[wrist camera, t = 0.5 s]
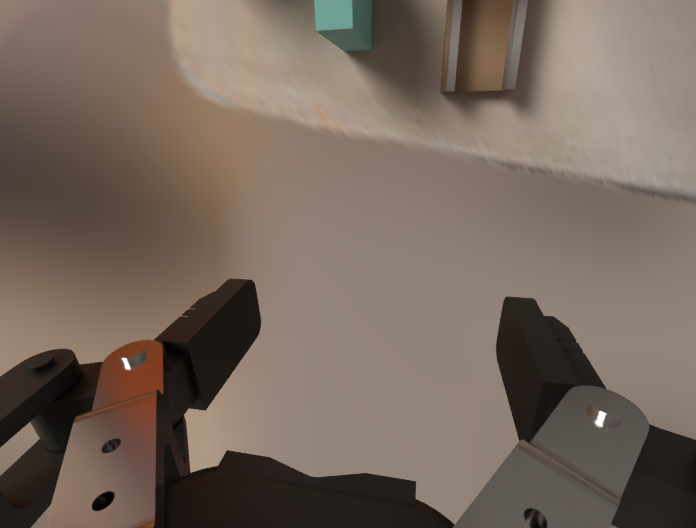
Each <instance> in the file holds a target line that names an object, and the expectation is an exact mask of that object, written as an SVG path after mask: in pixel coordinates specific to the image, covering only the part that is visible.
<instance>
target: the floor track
mask: <svg viewBox="0 0 696 528" xmlns="http://www.w3.org/2000/svg"><path fill="white" fill-rule="evenodd" d="M527 5H528V0H448V3H447V16H446V30H445V43H444V57H443V70H442V84H441V93H457V92H489V91H512V90H513V89H515V86H516V79H517V73H518V66H519V59H520V52H521V46H522V39H523V32H524V25H525V19H526V12H527Z"/></svg>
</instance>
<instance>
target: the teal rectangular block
mask: <svg viewBox="0 0 696 528" xmlns="http://www.w3.org/2000/svg"><path fill="white" fill-rule="evenodd" d="M314 4H315V24H316V31H317V32H318V33H320V34H321V35H322V36H324V37H325V38H327V39H328V40H329V41H331V42H332V43H333V44H335V45H336V46H338V47H339V48H340V49H342V50H343V51H362V50H372V0H314Z"/></svg>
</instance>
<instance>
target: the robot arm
mask: <svg viewBox="0 0 696 528" xmlns="http://www.w3.org/2000/svg"><path fill="white" fill-rule="evenodd" d="M260 327H261V317H260V311H259V305H258V299H257V293H256V287H255V284H254V282H253V281H252V280H245V279H228V280H227V281H226V282H225V283H224V284H223V285H222V286H221V287H219V288H218V289H217V290H216V291H215V292H212V293H210V294H208V295H206V296H205V297H203V298H201V299H199V300H198V301H197V302H196V303H195V304H194V305H192V306H191V307H190V310H189V309H188V310H187V311H186V312H185V313H183V314H182V317H179V318H178V319H177V320H176V321H175V322H173V323H172V324H171V325H170V326H169V327H168V328H167V329H165V330H164V331H163V332H162V333H161V334H160V335H159V336H158V337H156V338H155V339H154V340H141V341H135V342H132V343H129V344H126V345H124V346H122V347H120V348H118V349H116V350H115V351H113V352H112V353H111V354H109V355H108V356H107V357H106V358H105V360H104V361H103V362H97V363H90V364H81V365H79V362H78V360H77V358H76V356H75V354H74V352H73V351H72V350H69V349H55V350H50V351H46V352H43V353H40V354H37V355H35V356H32V357H30V358H28V359H26V360H24V361H23V362H21V363H20V364H18V365H16V366H15V367H13V368H12V369H11V370H9V371H8V372H6V373H5V374H3V375H2V376H1V377H0V447H1V446H2V445H4V444H5V443H6V442H7V441H8V440H9V439H10V438H12V437H13V436H14V435H15V434H16V433H17V432H18V431H20V430H21V429H22V428H23V427H24V426H25V425H27V424H28V423H29V422H31V424H32V426H33V427H34V429H35V431H36V433H37V435H38V436H39V438H40V439H39V440H38V441H37V442H36V443H35V444H34V445H33V446H32V447H31V448H30V449H29V450H28V451H26V452H25V453H24V454H23V455H22V456H21V457H20V458H19V459H18V460H17V461H16V462H15V463H14V464H13V465H12V466H11V467H9V468H8V469H7V470H6V471H5V472H4V473H3V474H2V475H1V476H0V528H30V527H32V525H33V524H34V523H35V522H36V521H37V519H38V518H39V517H40V516H41V515H42V514H43V513H44V512H45V510H46V509H47V508H48V507H49V506H50V505H51V506H50V510H49V514H48V517H47V521H46V525H45V528H609V527H610V525H613V526H616V527H618V528H696V440H694V439H691V438H688V437H685V436H681V435H678V434H675V433H672V432H669V431H666V430H663V429H660V428H657V427H655V426H652V425H650V424H649V423H648V420H647V418H646V416H645V415H644V414H643V412H642V411H641V410H640V409H639V408H638V407H637V406H636V405H635V404H633V403H632V402H630V401H629V400H628V399H626V398H625V397H623V396H621V395H619V394H617V393H615V392H613V391H610V390H607V389H606V388H605V386H604V384H603V383H602V381H601V379H600V378H599V376H598V375H597V373H596V371H595V370H594V369H593V367H592V365H591V363H590V362H589V360H588V358H587V357H586V356H585V354H584V353H583V351H582V349H581V347H580V346H579V344H578V343H576V339H575V338H574V336H573V334H572V333H571V331H570V330H569V328H568V327H567V326H565V325H564V324H563V323H561V322H560V321H559V320H557V319H556V318H555V317H552V316H544V315H543V313H542V312H541V310H540V308H539V306H538V304H537V302H536V301H535V299H533V298H520V297H505V299H504V302H503V307H502V313H501V319H500V324H499V331H498V336H497V344H496V354H497V361H498V365H499V369H500V372H501V376H502V380H503V383H504V387H505V390H506V394H507V398H508V401H509V405H510V409H511V412H512V416H513V420H514V423H515V427H516V430H517V434H518V438H519V441H520V442H519V443H518V444H517V445H516V446H515V448H514V449H513V450H512V452H511V453H510V454H509V455H508V457H507V458H506V459H505V461H504V462H503V463H502V464H501V466H500V467H499V468H498V470H497V471H496V472H495V474H494V475H493V476H492V477H491V479H490V480H489V481H488V483H487V484H486V485H485V487H484V488H483V489H482V490H481V492H480V493H479V494H478V496H477V497H476V498H475V500H474V501H473V502H472V504H471V505H470V506H469V507H468V509H467V510H466V511H465V513H464V514H463V515H462V516H461V518H460V519H459V520H458V522H457V523H456V524H455V525H454V524H453V523H452V522H451V521H450V520H449V519H447V518H446V517H445V516H444V515H442V514H441V513H440V512H438V511H437V510H435V509H434V508H432V507H430V506H429V505H427V504H425V503H423V502H421V501H419V500H416V499H415V495H416V481H410V480H404V479H398V478H392V477H386V476H380V475H374V474H368V473H362V474H350V475H340V476H327V477H311V476H308V475H306V474H304V473H302V472H299V471H297V470H295V469H293V468H291V467H289V466H287V465H285V464H283V463H280V462H278V461H276V460H274V459H272V458H270V457H264V456H258V455H252V454H246V453H240V452H234V451H226V453H225V455H224V457H223V458H222V460H221V462H220V464H219V465H218V466H215V467H211V468H205V469H202V470H198V471H196V472H192V473H190V462H189V450H188V438H187V427H186V420H185V417H184V414H185V412H186V411H187V410H188V409H189V408H191V409H198V410H206V409H207V408H208V406H209V405H210V403H211V402H212V401H213V399H214V398H215V396H216V395H217V394H218V392H219V391H220V389H221V388H222V386H223V385H224V384H225V382H226V381H227V379H228V378H229V377H230V375H231V374H232V372H233V371H234V369H235V368H236V367H237V365H238V364H239V362H240V361H241V359H242V358H243V356H244V355H245V354H246V352H247V351H248V350H249V348H250V347H251V345H252V344H253V342H254V341H255V339H256V338H257V336H258V335H259V331H260Z"/></svg>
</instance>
